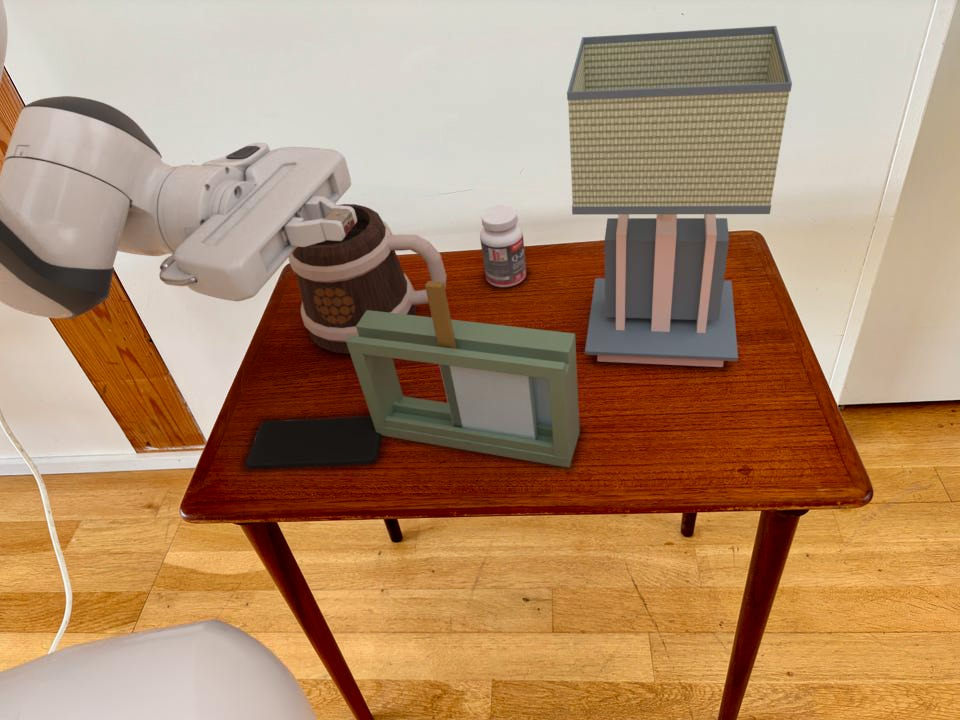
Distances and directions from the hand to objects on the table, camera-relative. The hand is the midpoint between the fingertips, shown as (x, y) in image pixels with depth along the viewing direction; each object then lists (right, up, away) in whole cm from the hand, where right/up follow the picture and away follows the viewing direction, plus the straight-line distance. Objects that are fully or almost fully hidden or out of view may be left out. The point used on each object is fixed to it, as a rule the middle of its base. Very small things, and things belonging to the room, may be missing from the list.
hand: (348, 223), depth 62 cm
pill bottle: (+15, 0, +37) cm, 40 cm away
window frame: (+11, -20, +16) cm, 28 cm away
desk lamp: (+33, -8, +25) cm, 42 cm away
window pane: (+13, -20, +14) cm, 27 cm away
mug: (-2, -7, +33) cm, 34 cm away
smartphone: (-7, -22, +18) cm, 29 cm away
